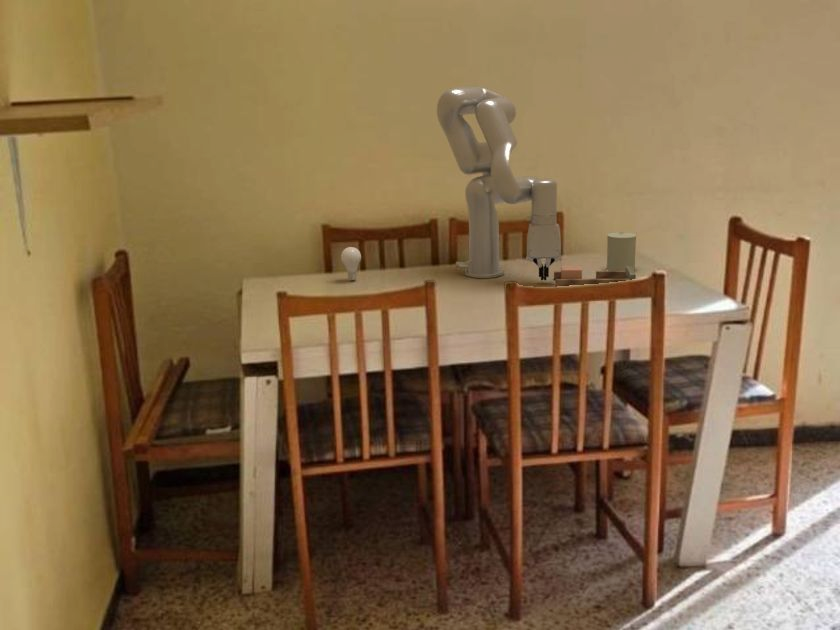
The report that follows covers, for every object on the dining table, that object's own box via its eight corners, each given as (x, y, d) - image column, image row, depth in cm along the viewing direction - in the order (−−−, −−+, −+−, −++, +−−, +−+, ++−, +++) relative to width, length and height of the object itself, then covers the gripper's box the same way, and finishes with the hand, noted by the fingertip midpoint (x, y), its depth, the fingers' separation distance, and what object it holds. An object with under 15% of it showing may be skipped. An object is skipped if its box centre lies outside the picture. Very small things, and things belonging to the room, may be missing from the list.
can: (633, 266, 294) (634, 230, 290) (637, 273, 285) (638, 235, 281) (604, 266, 295) (605, 230, 291) (607, 273, 286) (608, 236, 282)
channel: (555, 288, 269) (555, 275, 268) (553, 278, 280) (554, 266, 279) (635, 287, 267) (635, 274, 265) (630, 278, 278) (630, 265, 277)
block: (561, 286, 272) (562, 270, 270) (561, 281, 277) (561, 265, 276) (581, 286, 271) (582, 270, 270) (580, 281, 277) (580, 265, 275)
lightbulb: (358, 283, 282) (357, 249, 279) (339, 282, 284) (337, 248, 281) (364, 278, 288) (363, 245, 285) (345, 278, 290) (344, 244, 287)
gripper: (519, 222, 267) (519, 282, 272) (569, 221, 265) (569, 281, 270) (518, 218, 274) (519, 276, 279) (568, 217, 272) (567, 276, 277)
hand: (543, 279), depth 275 cm, fingers closed
